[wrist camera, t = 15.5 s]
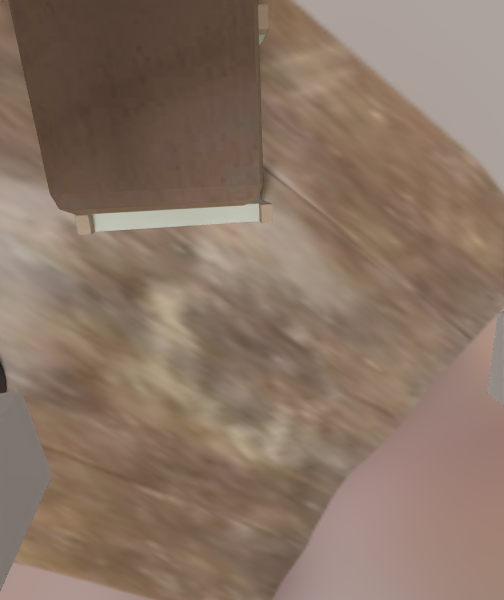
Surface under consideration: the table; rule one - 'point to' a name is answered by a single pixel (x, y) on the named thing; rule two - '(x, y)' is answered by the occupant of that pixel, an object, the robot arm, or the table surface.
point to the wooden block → (144, 101)
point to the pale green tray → (183, 217)
